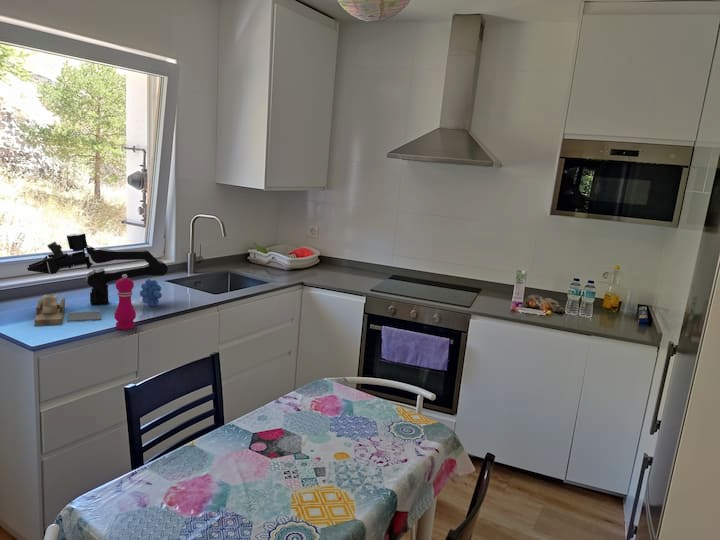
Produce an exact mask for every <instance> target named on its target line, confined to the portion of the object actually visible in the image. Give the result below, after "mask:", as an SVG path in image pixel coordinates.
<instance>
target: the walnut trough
mask: <svg viewBox="0 0 720 540" xmlns="http://www.w3.org/2000/svg"><path fill="white" fill-rule="evenodd" d="M57 303H58V311H57V313H43V297H40V298H39V300H38V303H37V305H36V308H35V311H36V315H35V318H34V321H33V322H34V326H35V325H38V326H50V325H52V326H54V325H63V322H64V317H65V316H64V315H65V311H66V297H65V296H61V299H60V302H57Z"/></svg>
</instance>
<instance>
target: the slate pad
mask: <svg viewBox="0 0 720 540" xmlns="http://www.w3.org/2000/svg"><path fill="white" fill-rule="evenodd" d="M101 318H102V315H101V310H99V311H98V310H96V311H95V310H93V311H77V312H68V317H67V322H68V323H70V322H69V321H75V322H87V320H92V321H101V320H102V319H101Z"/></svg>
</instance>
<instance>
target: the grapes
mask: <svg viewBox="0 0 720 540" xmlns="http://www.w3.org/2000/svg"><path fill="white" fill-rule="evenodd" d="M140 288H141V289H142V290H140V291H139V295H140V297H142V299H141V301H142V303H144V304H146V305H147V306H148V307H153V305H158V304H159V302H160V301H159V300H160V299H161V298H162V296H163V295H162V292H161V291H162V287H161V285H159V283H158V281H157V280H156V279H146V281H145V282H144V283H142V284H141V285H140Z"/></svg>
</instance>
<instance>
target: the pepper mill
mask: <svg viewBox="0 0 720 540" xmlns="http://www.w3.org/2000/svg"><path fill="white" fill-rule="evenodd" d="M134 284H135V283H134V281H133V280H132V279H131V278H127V275H126V274H123V275H122V278H121V279H119V280H116V283H115V288H116V290H117V296H118V303H117V307H116V308H115V309H116V310H115V311H114V317H113V318H114V319H115V321H117V322H115V328H116V329H118V330H131V329H134V328H135V326H136V325H135V324H136V323H135V321H134V320H135V319H136V317H137V314H136V309H135V308H134V306H133V303H132V296H133V291H132V290H133V289H134Z"/></svg>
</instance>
